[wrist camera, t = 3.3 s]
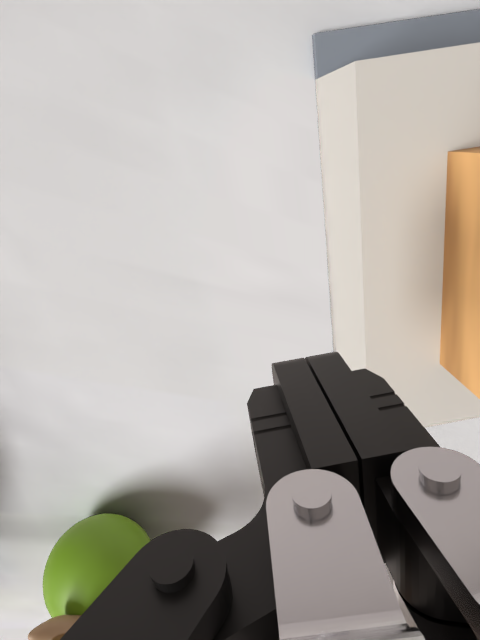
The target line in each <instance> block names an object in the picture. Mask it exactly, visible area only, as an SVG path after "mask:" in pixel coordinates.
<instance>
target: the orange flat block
mask: <svg viewBox="0 0 480 640" xmlns="http://www.w3.org/2000/svg"><path fill="white" fill-rule="evenodd" d="M440 365H442V366H443V367H444V368H445V369H446V370H447V371H448V372H449V373H451V374H452V375H453V376H454V377H455V378H456V379H457V380H458V381H460V382H461V383H462V384H463V385H464V386H465V387H466V388H467V389H469V390H470V391H471V392H472V393H473V394H474V395H475V396H476V397H478V398H479V399H480V146H479V147H473V148H467V149H460V150H454V151H448V156H447V182H446V208H445V234H444V261H443V287H442V313H441V339H440Z"/></svg>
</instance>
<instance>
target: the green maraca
mask: <svg viewBox="0 0 480 640" xmlns="http://www.w3.org/2000/svg"><path fill="white" fill-rule="evenodd" d="M150 541H151V540H150V538H149V537H148V535H147V533H146V532H145V531H144V530H143V528H142V527H141V526H140V525H138V524H137V523H136V522H134V521H133V520H131V519H129V518H127V517H125V516H122V515H118V514H98V515H94V516H91V517H88V518H86V519H83V520H82V521H80V522H78V523H76V524H75V525H74V526H72V527H71V528H70V529H69V530H67V531H66V532H65V533H64V534H63V535H62V537H61V538H60V539H59V540H58V542H57V543H56V544H55V546H54V548H53V549H52V551H51V553H50V555H49V558H48V560H47V563H46V566H45V570H44V576H43V595H44V600H45V604H46V607H47V609H48V611H49V613H50V615H51V617H52V618H51V619H49V620H47V621H45V622H44V623H42V624H40V625H39V626H37V627H36V628H34V629H33V630H32V631H31V632H30V633H29V635H28V639H29V640H60V639H61V638H62V637H63V635H64V634H65V633H66V632H67V631H68V630H69V629H70V628H71V626H72V625H73V624H74V623H75V622H76V621H77V620H78V619H79V617H80V616H81V615H82V614H83V613H84V612H85V611H86V610H87V608H88V607H89V606H90V605H91V604H92V603H93V602H94V601H95V599H96V598H97V597H98V596H99V595H100V594H101V593H102V592H103V590H104V589H105V588H106V587H107V586H108V585H109V584H110V583H111V581H112V580H113V579H114V578H115V577H116V576H117V575H118V574H119V572H120V571H121V570H122V569H123V568H124V567H125V566H126V565H127V563H128V562H129V561H130V560H131V559H132V558H133V557H134V556H135V554H136V553H137V552H138V551H139V550H140V549H141V548H142V547H143V546H145V545H146V544H147V543H149V542H150Z"/></svg>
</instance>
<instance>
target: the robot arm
mask: <svg viewBox="0 0 480 640" xmlns="http://www.w3.org/2000/svg"><path fill="white" fill-rule="evenodd" d="M272 374H273V381H274V385H273V386H268V387H262V388H257V389H254V390H253V392H252V394H251V396H250V398H249V401H248V403H247V406H248V412H249V417H250V423H251V429H252V435H253V441H254V447H255V453H256V458H257V463H258V468H259V473H260V478H261V483H262V488H263V493H264V502H263V505H262V507H261V509H260V511H259V512H258V513H257V515H256V516H255V517H254V518H253V519H252V521H251V522H250V523H248V524H247V525H246V526H245V527H243V528H242V529H240V530H238V531H237V532H235V533H233V534H231V535H229V536H227V537H225V538H223V539H221V540H219V541H216V540H215V539H214V538H213V537H212V536H210V535H208V534H206V533H204V532H201V531H198V530H192V529H181V530H175V531H171V532H168V533H165V534H163V535H160V536H158V537H156V538H155V539H153V540H151V541H150V542H149V543H147V544H146V545H145V546H143V547H142V548H141V549H140V550H139V551H138V552H137V553H136V554H135V556H134V557H133V558H132V559H131V560H130V561H129V562H128V563H127V565H126V566H125V567H124V568H123V569H122V570H121V571H120V572H119V574H118V575H117V576H116V577H115V578H114V579H113V580H112V581H111V583H110V584H109V585H108V586H107V587H106V588H105V589H104V590H103V592H102V593H101V594H100V595H99V596H98V597H97V598H96V599H95V601H94V602H93V603H92V604H91V605H90V606H89V607H88V608H87V610H86V611H85V612H84V613H83V614H82V615H81V616H80V617H79V619H78V620H77V621H76V622H75V623H74V624H73V625H72V626H71V628H70V629H69V630H68V631H67V632H66V633H65V634H64V635H63V637H62V638H61V639H60V640H480V464H479V463H477V462H476V461H475V460H473V459H472V458H470V457H468V456H466V455H464V454H462V453H460V452H457V451H454V450H450V449H446V448H441V447H440V446H439V445H438V444H437V443H436V441H435V440H434V439H433V438H432V436H431V435H430V434H429V433H428V432H427V430H426V429H425V428H424V427H423V425H422V424H421V423H420V422H419V421H418V419H417V418H416V417H415V416H414V415H413V413H412V412H411V411H410V410H409V408H408V407H407V406H405V405H404V402H403V401H402V400H401V399H400V397H399V396H398V395H397V394H396V395H395V391H394V390H393V389H392V388H391V387H390V385H389V384H388V383H387V382H386V380H385V379H384V378H382V377H381V376H379V375H377V374H375V373H373V372H371V371H369V370H367V369H365V368H364V369H359V370H354V371H351V369H350V368H349V367H348V365H347V364H346V362H345V361H344V359H343V358H342V357H341V355H340V354H339V353H338V352H332V353H326V354H321V355H315V356H310V357H306V358H305V359H304V358H300V359H294V360H289V361H283V362H278V363H272ZM384 563H386V565H387V567H388V568H389V571H390V573H391V575H392V577H393V580H394V589H393V586H392V584H391V581H390V579H389V576H388V573H387V570H386V567H385V565H384Z"/></svg>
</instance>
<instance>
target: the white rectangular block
mask: <svg viewBox="0 0 480 640" xmlns="http://www.w3.org/2000/svg"><path fill="white" fill-rule="evenodd" d="M315 84H316V99H317V113H318V128H319V143H320V158H321V172H322V187H323V202H324V217H325V231H326V246H327V261H328V276H329V290H330V305H331V320H332V335H333V349H334V352H338V353H339V354H340V355H341V357H342V358H343V359H344V361H345V362H346V364H347V365H348V367H349V368H350V369H351V371H354V370H359V369H364V368H365V369H367V370H369V371H371V372H373V373H375V374H377V375H379V376H381V377H382V378H384V379H385V380H386V382H387V383H388V384H389V385H390V387H391V388H392V389H393V390H394V391H395V395H396V394H397V395H398V396H399V397H400V399H401V400H402V401H403V402H404V405H405V406H407V407H408V408H409V410H410V411H411V412H412V413H413V415H414V416H415V417H416V418H417V419H418V421H419V422H420V423H421V424H422V425H423V427H424V428H425V427H430V426H436V425H441V424H446V423H451V422H457V421H462V420H467V419H472V418H477V417H480V399H479V398H478V397H476V396H475V395H474V394H473V393H472V392H471V391H470V390H469V389H467V388H466V387H465V386H464V385H463V384H462V383H461V382H460V381H458V380H457V379H456V378H455V377H454V376H453V375H452V374H451V373H449V372H448V371H447V370H446V369H445V368H444V367H443V366H442V365H440V339H441V313H442V287H443V261H444V234H445V208H446V182H447V156H448V151H454V150H460V149H467V148H473V147H479V146H480V42H479V43H472V44H465V45H459V46H452V47H445V48H439V49H432V50H426V51H419V52H412V53H406V54H399V55H392V56H386V57H379V58H372V59H366V60H359V61H354V62H352V63H350V64H348V65H346V66H344V67H342V68H339V69H337V70H335V71H333V72H331V73H329V74H327V75H324V76H322V77H320V78H318V79H316V80H315ZM335 346H336V347H335ZM335 348H336V351H335Z"/></svg>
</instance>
